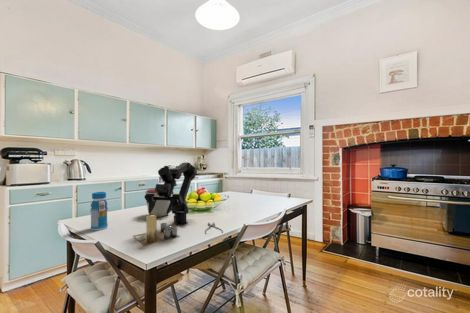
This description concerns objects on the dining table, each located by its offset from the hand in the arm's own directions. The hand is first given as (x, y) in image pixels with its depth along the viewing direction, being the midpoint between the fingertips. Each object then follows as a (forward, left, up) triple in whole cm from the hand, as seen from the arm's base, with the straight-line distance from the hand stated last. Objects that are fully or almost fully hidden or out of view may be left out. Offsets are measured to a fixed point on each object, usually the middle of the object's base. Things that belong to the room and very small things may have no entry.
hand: (158, 213), depth 113 cm
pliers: (-28, +2, -13) cm, 31 cm away
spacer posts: (-3, -2, -11) cm, 12 cm away
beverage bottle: (+19, -39, -13) cm, 45 cm away
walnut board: (0, -2, -12) cm, 12 cm away
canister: (-18, -46, -13) cm, 51 cm away
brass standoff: (+5, +4, -11) cm, 13 cm away
